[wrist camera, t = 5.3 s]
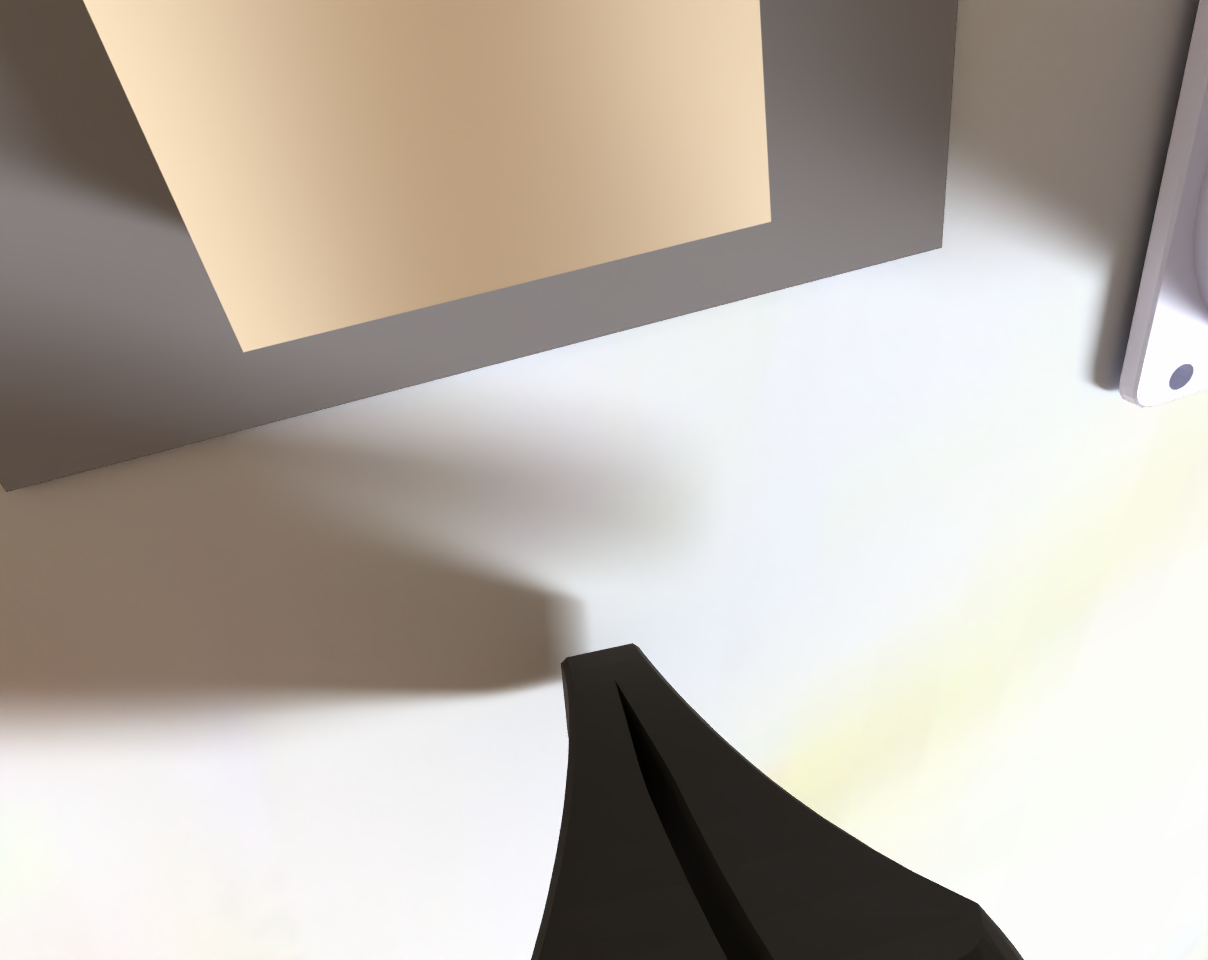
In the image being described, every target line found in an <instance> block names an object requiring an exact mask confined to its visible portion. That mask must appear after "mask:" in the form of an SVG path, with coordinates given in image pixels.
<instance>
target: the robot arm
mask: <svg viewBox="0 0 1208 960" xmlns="http://www.w3.org/2000/svg"><path fill="white" fill-rule="evenodd" d="M1206 389H1208V0H1199V5H1198V10H1197V15H1196V19H1195V24H1194V29H1193V34H1192V39H1191V43H1190V48H1189V53H1188V58H1187V63H1186V67H1185V72H1184V77H1183V82H1182V86H1181V91H1180V96H1179V101H1178V106H1177V110H1176V115H1175V120H1174V125H1173V129H1172V134H1171V139H1170V144H1169V149H1168V153H1167V158H1166V163H1165V168H1164V172H1163V177H1162V182H1161V187H1160V192H1159V196H1158V201H1157V206H1156V211H1155V215H1154V220H1153V225H1152V230H1151V235H1150V239H1149V244H1148V249H1147V254H1146V259H1145V263H1144V268H1143V273H1142V278H1141V282H1140V287H1139V292H1138V297H1137V302H1136V306H1135V311H1134V316H1133V321H1132V325H1131V330H1130V335H1129V340H1128V345H1127V349H1126V354H1125V359H1124V364H1123V368H1122V373H1121V378H1120V387H1119V393H1120V395H1121V396H1122V398H1123V399H1125V400H1127V401H1129V402H1131V403H1134V404H1136V405H1138V406H1140V407H1151V406H1154V405H1157V404H1160V403H1164V402H1167V401H1170V400H1173V399H1177V398H1180V397H1183V396H1187V395H1190V394H1193V393H1196V392H1200V391H1203V390H1206ZM561 669H562V679H563V689H564V699H565V709H566V719H567V729H568V737H569V755H568V769H567V779H566V790H565V800H564V808H563V815H562V822H561V829H560V835H559V841H558V847H557V853H556V858H555V863H554V868H553V873H552V878H551V882H550V887H549V892H548V897H547V901H546V905H545V910H544V914H543V918H542V922H541V925H540V929H539V933H538V936H537V940H536V944H535V947H534V951H533V955H532V958H531V960H1024V959H1023V958H1022V957H1021V955H1020V954H1019V952H1018V951H1017V950H1016V948H1015V947H1014V946H1013V944H1012V943H1011V942H1010V941H1009V939H1008V938H1007V937H1006V936H1005V934H1004V933H1003V932H1002V931H1001V929H1000V928H999V927H998V926H997V925H996V924H995V923H994V922H993V920H992V919H991V918H990V917H989V916H988V915H987V914H986V912H985V911H984V910H983V909H982V908H981V907H980V905H979V904H978V903H976V902H974V901H972V900H969V899H967V898H965V897H963V896H961V895H959V894H957V893H955V892H953V891H951V890H949V889H947V888H945V887H943V886H941V885H939V884H937V883H935V882H933V881H931V880H929V879H927V878H924V877H922V876H920V875H918V874H916V873H914V872H912V871H911V870H909V869H907V868H905V867H904V866H902V865H900V864H898V863H896V862H895V861H893V860H891V859H889V858H888V857H886V856H884V855H882V854H881V853H879V852H877V851H875V850H874V849H872V848H870V847H869V846H867V845H866V844H864V843H862V842H861V841H859V840H858V839H856V838H855V837H853V836H851V835H850V834H848V833H847V832H845V831H844V830H842V829H840V828H839V827H837V826H836V825H834V824H832V823H831V822H829V821H828V820H826V819H825V818H823V817H822V816H820V815H819V814H817V813H816V812H814V811H813V810H812V809H810V808H809V807H807V806H806V805H805V804H803V803H802V802H800V801H799V800H798V799H796V798H795V797H793V796H792V795H791V794H789V793H788V792H787V791H785V790H784V789H783V788H782V787H780V786H779V785H778V784H776V783H775V782H774V781H772V780H771V779H770V778H769V777H767V776H766V775H765V774H764V773H762V772H761V771H760V770H759V769H758V768H756V767H755V766H754V765H753V764H752V763H750V762H749V761H748V760H747V759H746V758H745V757H743V756H742V755H741V754H740V753H739V752H738V751H737V750H736V749H734V748H733V747H732V746H731V745H730V744H729V743H728V742H727V741H725V740H724V739H723V738H722V737H721V736H720V735H719V734H718V733H717V732H716V731H715V730H714V729H713V728H712V727H711V726H710V725H709V724H708V723H707V722H706V721H705V720H704V719H703V718H702V717H701V716H700V715H699V714H698V713H697V712H696V711H695V710H694V709H693V708H692V707H691V706H690V705H689V704H688V703H687V702H686V701H685V700H684V699H683V698H682V697H681V696H680V695H679V694H678V693H677V692H676V691H675V689H674V688H673V687H672V686H671V685H670V684H669V683H668V682H667V681H666V680H665V678H664V677H663V676H662V675H661V674H660V673H659V672H658V670H657V669H656V668H655V667H654V666H653V664H652V663H651V662H650V661H649V660H648V658H647V657H646V656H645V655H644V653H643V652H642V651H641V650H640V648H639V647H638V646H636V645H635V644H633V643H632V644H627V645H623V646H618V647H613V648H609V649H604V650H599V651H595V652H590V653H585V654H581V655H576V656H572V657H567V658H566V659H565V660H564V661H563V662H562V663H561Z"/></svg>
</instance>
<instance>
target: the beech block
mask: <svg viewBox="0 0 1208 960" xmlns="http://www.w3.org/2000/svg"><path fill="white" fill-rule="evenodd" d="M83 1H84V3H85V6H86V8H87V10H88V12H89V14H90V17H91V19H92V21H93V23H94V25H95V28H96V30H97V32H98V34H99V36H100V39H101V41H102V43H103V45H104V47H105V50H106V52H107V54H108V56H109V58H110V61H111V63H112V65H113V67H114V69H115V71H116V74H117V76H118V78H119V80H120V82H121V85H122V87H123V89H124V91H125V93H126V96H127V98H128V100H129V102H130V104H131V107H132V109H133V111H134V113H135V115H136V118H137V120H138V122H139V124H140V126H141V129H142V131H143V133H144V135H145V137H146V140H147V142H148V144H149V146H150V148H151V151H152V153H153V155H154V157H155V159H156V161H157V164H158V166H159V168H160V170H161V172H162V175H163V177H164V179H165V181H166V183H167V186H168V188H169V190H170V192H171V194H172V197H173V199H174V201H175V203H176V205H177V208H178V210H179V212H180V214H181V216H182V219H183V221H184V223H185V225H186V227H187V230H188V232H189V234H190V236H191V238H192V241H193V243H194V245H195V247H196V249H197V251H198V254H199V256H200V258H201V260H202V262H203V265H204V267H205V269H206V271H207V273H208V276H209V278H210V280H211V282H212V284H213V287H214V289H215V291H216V293H217V295H218V298H219V300H220V302H221V304H222V306H223V309H224V311H225V313H226V315H227V317H228V320H229V322H230V324H231V326H232V328H233V331H234V333H235V335H236V337H237V339H238V341H239V344H240V346H241V348H242V350H243V352H247V351H251V350H255V349H259V348H263V347H267V346H271V345H275V344H279V343H283V342H287V341H291V340H295V339H299V338H303V337H307V336H311V335H315V334H320V333H324V332H328V331H332V330H336V329H340V328H344V327H348V326H352V325H356V324H360V323H364V322H368V321H372V320H376V319H380V318H384V317H388V316H392V315H396V314H400V313H404V312H408V311H412V310H416V309H420V308H424V307H429V306H433V305H437V304H441V303H445V302H449V301H453V300H457V299H461V298H465V297H469V296H473V295H477V294H481V293H485V292H489V291H493V290H497V289H501V288H505V287H509V286H513V285H517V284H521V283H525V282H529V281H533V280H538V279H542V278H546V277H550V276H554V275H558V274H562V273H566V272H570V271H574V270H578V269H582V268H586V267H590V266H594V265H598V264H602V263H606V262H610V261H614V260H618V259H622V258H626V257H630V256H634V255H638V254H642V253H647V252H651V251H655V250H659V249H663V248H667V247H671V246H675V245H679V244H683V243H687V242H691V241H695V240H699V239H703V238H707V237H711V236H715V235H719V234H723V233H727V232H731V231H735V230H739V229H743V228H747V227H752V226H756V225H760V224H764V223H768V222H771V209H770V190H769V171H768V152H767V134H766V115H765V96H764V77H763V58H762V39H761V20H760V1H759V0H83Z"/></svg>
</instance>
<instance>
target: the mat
mask: <svg viewBox="0 0 1208 960" xmlns="http://www.w3.org/2000/svg"><path fill="white" fill-rule="evenodd" d="M759 1H760V20H761V39H762V58H763V77H764V96H765V115H766V134H767V152H768V171H769V190H770V209H771V222H768V223H764V224H760V225H756V226H752V227H747V228H743V229H739V230H735V231H731V232H727V233H723V234H719V235H715V236H711V237H707V238H703V239H699V240H695V241H691V242H687V243H683V244H679V245H675V246H671V247H667V248H663V249H659V250H655V251H651V252H647V253H642V254H638V255H634V256H630V257H626V258H622V259H618V260H614V261H610V262H606V263H602V264H598V265H594V266H590V267H586V268H582V269H578V270H574V271H570V272H566V273H562V274H558V275H554V276H550V277H546V278H542V279H538V280H533V281H529V282H525V283H521V284H517V285H513V286H509V287H505V288H501V289H497V290H493V291H489V292H485V293H481V294H477V295H473V296H469V297H465V298H461V299H457V300H453V301H449V302H445V303H441V304H437V305H433V306H429V307H424V308H420V309H416V310H412V311H408V312H404V313H400V314H396V315H392V316H388V317H384V318H380V319H376V320H372V321H368V322H364V323H360V324H356V325H352V326H348V327H344V328H340V329H336V330H332V331H328V332H324V333H320V334H315V335H311V336H307V337H303V338H299V339H295V340H291V341H287V342H283V343H279V344H275V345H271V346H267V347H263V348H259V349H255V350H251V351H247V352H243V350H242V348H241V346H240V344H239V341H238V339H237V337H236V335H235V333H234V331H233V328H232V326H231V324H230V322H229V320H228V317H227V315H226V313H225V311H224V309H223V306H222V304H221V302H220V300H219V298H218V295H217V293H216V291H215V289H214V287H213V284H212V282H211V280H210V278H209V276H208V273H207V271H206V269H205V267H204V265H203V262H202V260H201V258H200V256H199V254H198V251H197V249H196V247H195V245H194V243H193V241H192V238H191V236H190V234H189V232H188V230H187V227H186V225H185V223H184V221H183V219H182V216H181V214H180V212H179V210H178V208H177V205H176V203H175V201H174V199H173V197H172V194H171V192H170V190H169V188H168V186H167V183H166V181H165V179H164V177H163V175H162V172H161V170H160V168H159V166H158V164H157V161H156V159H155V157H154V155H153V153H152V151H151V148H150V146H149V144H148V142H147V140H146V137H145V135H144V133H143V131H142V129H141V126H140V124H139V122H138V120H137V118H136V115H135V113H134V111H133V109H132V107H131V104H130V102H129V100H128V98H127V96H126V93H125V91H124V89H123V87H122V85H121V82H120V80H119V78H118V76H117V74H116V71H115V69H114V67H113V65H112V63H111V61H110V58H109V56H108V54H107V52H106V50H105V47H104V45H103V43H102V41H101V39H100V36H99V34H98V32H97V30H96V28H95V25H94V23H93V21H92V19H91V17H90V14H89V12H88V10H87V8H86V6H85V3H84V1H83V0H0V483H1V485H2V486H3V487H4V489H5V490H6V492H8V491H12V490H16V489H20V488H23V487H27V486H31V485H35V484H39V483H43V482H46V481H50V480H54V479H58V478H62V477H66V476H69V475H73V474H77V473H81V472H85V471H88V470H92V469H96V468H100V467H104V466H108V465H111V464H115V463H119V462H123V461H127V460H131V459H134V458H138V457H142V456H146V455H150V454H154V453H157V452H161V451H165V450H169V449H173V448H177V447H180V446H184V445H188V444H192V443H196V442H199V441H203V440H207V439H211V438H215V437H219V436H222V435H226V434H230V433H234V432H238V431H242V430H245V429H249V428H253V427H257V426H261V425H265V424H268V423H272V422H276V421H280V420H284V419H287V418H291V417H295V416H299V415H303V414H307V413H310V412H314V411H318V410H322V409H326V408H330V407H333V406H337V405H341V404H345V403H349V402H353V401H356V400H360V399H364V398H368V397H372V396H376V395H379V394H383V393H387V392H391V391H395V390H398V389H402V388H406V387H410V386H414V385H418V384H421V383H425V382H429V381H433V380H437V379H441V378H444V377H448V376H452V375H456V374H460V373H464V372H467V371H471V370H475V369H479V368H483V367H486V366H490V365H494V364H498V363H502V362H506V361H509V360H513V359H517V358H521V357H525V356H529V355H532V354H536V353H540V352H544V351H548V350H552V349H555V348H559V347H563V346H567V345H571V344H574V343H578V342H582V341H586V340H590V339H594V338H597V337H601V336H605V335H609V334H613V333H617V332H620V331H624V330H628V329H632V328H636V327H640V326H643V325H647V324H651V323H655V322H659V321H663V320H666V319H670V318H674V317H678V316H682V315H685V314H689V313H693V312H697V311H701V310H705V309H708V308H712V307H716V306H720V305H724V304H728V303H731V302H735V301H739V300H743V299H747V298H751V297H754V296H758V295H762V294H766V293H770V292H773V291H777V290H781V289H785V288H789V287H793V286H796V285H800V284H804V283H808V282H812V281H816V280H819V279H823V278H827V277H831V276H835V275H839V274H842V273H846V272H850V271H854V270H858V269H862V268H865V267H869V266H873V265H877V264H881V263H884V262H888V261H892V260H896V259H900V258H904V257H907V256H911V255H915V254H919V253H923V252H927V251H930V250H934V249H938V248H942V236H943V221H944V206H945V190H946V175H947V160H948V145H949V129H950V114H951V99H952V83H953V68H954V53H955V37H956V22H957V7H958V0H759Z"/></svg>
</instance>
